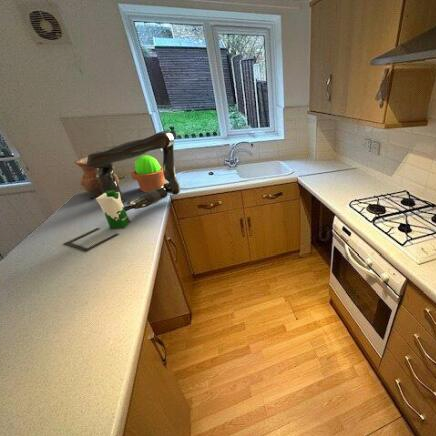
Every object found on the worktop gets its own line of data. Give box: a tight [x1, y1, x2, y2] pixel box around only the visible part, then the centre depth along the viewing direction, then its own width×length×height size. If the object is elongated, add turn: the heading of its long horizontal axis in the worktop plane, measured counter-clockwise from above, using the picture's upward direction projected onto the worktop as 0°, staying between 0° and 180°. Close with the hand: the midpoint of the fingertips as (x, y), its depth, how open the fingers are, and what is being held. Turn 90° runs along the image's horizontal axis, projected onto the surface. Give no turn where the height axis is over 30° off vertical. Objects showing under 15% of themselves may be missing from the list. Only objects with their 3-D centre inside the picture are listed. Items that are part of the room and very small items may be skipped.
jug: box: [74, 156, 120, 197], centre depth 170 cm, size 22×21×25 cm
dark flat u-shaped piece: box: [63, 227, 119, 252], centre depth 120 cm, size 17×16×1 cm
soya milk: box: [95, 190, 131, 230], centre depth 127 cm, size 9×9×20 cm
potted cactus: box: [130, 154, 167, 193], centre depth 175 cm, size 22×22×25 cm
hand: (123, 209), depth 132 cm, fingers closed
